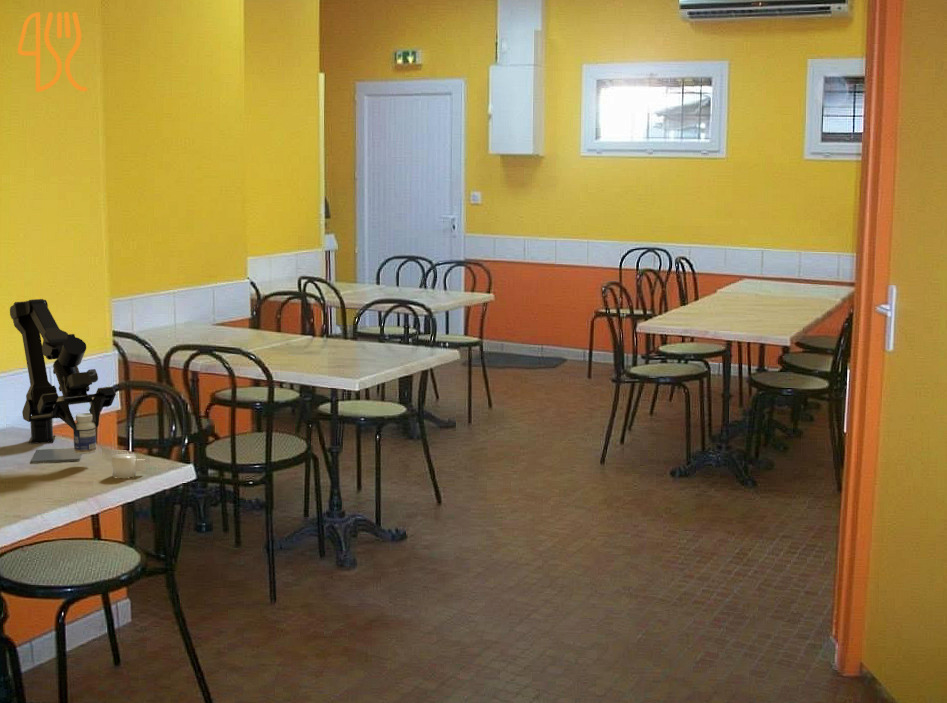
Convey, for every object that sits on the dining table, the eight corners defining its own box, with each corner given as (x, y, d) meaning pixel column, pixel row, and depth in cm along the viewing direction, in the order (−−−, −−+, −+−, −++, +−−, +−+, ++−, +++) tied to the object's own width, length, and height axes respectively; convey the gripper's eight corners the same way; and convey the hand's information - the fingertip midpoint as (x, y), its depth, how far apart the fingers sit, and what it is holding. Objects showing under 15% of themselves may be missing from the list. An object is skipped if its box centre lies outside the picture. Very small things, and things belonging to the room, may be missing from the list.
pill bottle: (73, 450, 301) (71, 413, 300) (95, 448, 303) (93, 411, 302) (75, 455, 296) (73, 417, 295) (97, 453, 298) (96, 416, 297)
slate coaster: (36, 451, 313) (36, 449, 313) (83, 449, 316) (83, 447, 316) (30, 463, 302) (30, 461, 302) (79, 460, 305) (79, 458, 305)
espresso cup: (113, 473, 293) (112, 454, 292) (145, 472, 295) (145, 452, 294) (111, 479, 288) (111, 459, 287) (144, 477, 290) (144, 458, 289)
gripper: (39, 363, 293) (56, 414, 287) (112, 355, 305) (130, 405, 298) (30, 388, 301) (46, 439, 294) (101, 380, 312) (119, 429, 305)
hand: (86, 427), depth 298 cm, fingers closed on pill bottle, 5 cm apart
